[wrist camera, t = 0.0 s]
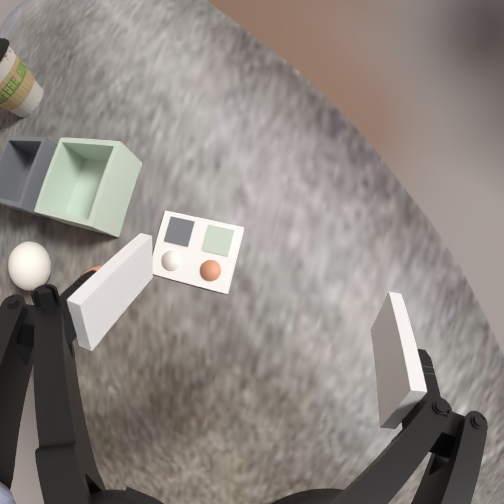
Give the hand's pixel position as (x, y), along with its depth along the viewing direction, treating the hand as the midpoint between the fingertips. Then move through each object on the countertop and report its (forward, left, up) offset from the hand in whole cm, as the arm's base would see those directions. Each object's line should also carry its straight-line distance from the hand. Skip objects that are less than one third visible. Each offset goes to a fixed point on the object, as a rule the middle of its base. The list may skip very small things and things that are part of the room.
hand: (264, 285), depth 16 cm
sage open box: (+6, +23, -15) cm, 28 cm away
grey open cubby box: (+6, +35, -15) cm, 38 cm away
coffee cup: (+20, +47, -16) cm, 53 cm away
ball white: (-5, +29, -12) cm, 32 cm away
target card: (+2, +9, -15) cm, 18 cm away
